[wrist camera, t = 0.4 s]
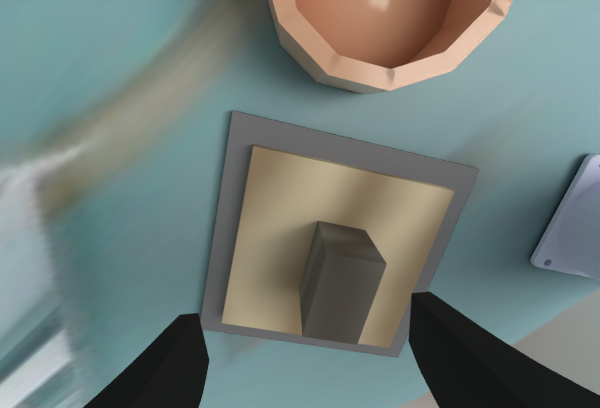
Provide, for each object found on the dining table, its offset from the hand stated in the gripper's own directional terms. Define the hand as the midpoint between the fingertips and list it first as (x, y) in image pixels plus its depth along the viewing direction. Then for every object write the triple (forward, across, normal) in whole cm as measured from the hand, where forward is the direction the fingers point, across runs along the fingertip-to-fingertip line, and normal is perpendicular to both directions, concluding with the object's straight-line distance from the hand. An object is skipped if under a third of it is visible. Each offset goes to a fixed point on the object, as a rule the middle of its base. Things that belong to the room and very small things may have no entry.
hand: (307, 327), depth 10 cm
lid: (+9, -2, +2) cm, 10 cm away
